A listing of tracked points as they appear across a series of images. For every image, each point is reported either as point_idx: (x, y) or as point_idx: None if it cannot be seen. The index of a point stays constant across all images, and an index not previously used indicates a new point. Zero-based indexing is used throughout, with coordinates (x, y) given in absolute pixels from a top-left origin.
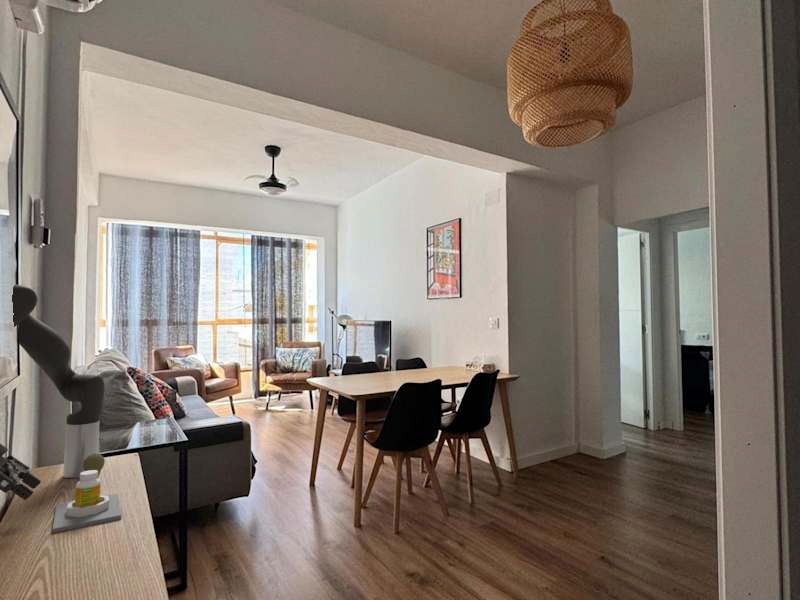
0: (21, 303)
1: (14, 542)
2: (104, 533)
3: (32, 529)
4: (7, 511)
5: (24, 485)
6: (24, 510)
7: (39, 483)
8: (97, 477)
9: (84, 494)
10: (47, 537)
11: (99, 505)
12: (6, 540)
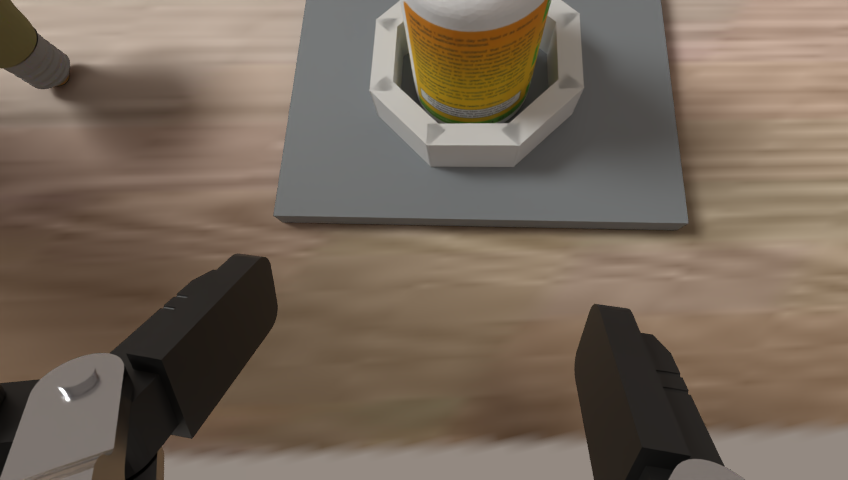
0: None
1: (713, 395)
2: (806, 33)
3: (553, 319)
4: None
5: (640, 396)
6: None
7: (270, 265)
8: (30, 25)
9: (545, 18)
10: (725, 249)
11: (567, 8)
12: None
